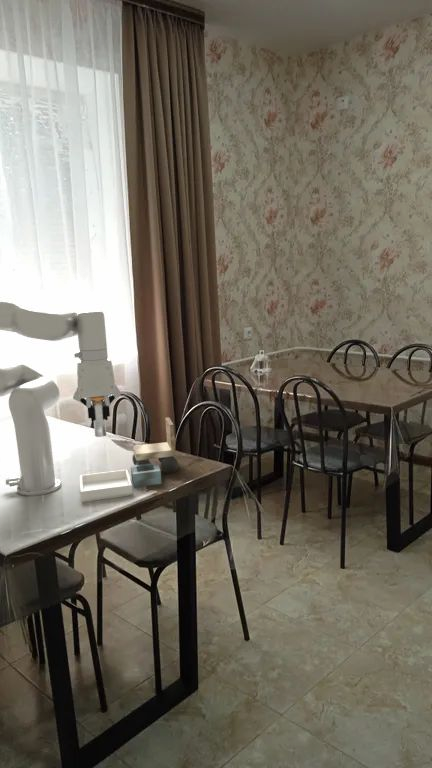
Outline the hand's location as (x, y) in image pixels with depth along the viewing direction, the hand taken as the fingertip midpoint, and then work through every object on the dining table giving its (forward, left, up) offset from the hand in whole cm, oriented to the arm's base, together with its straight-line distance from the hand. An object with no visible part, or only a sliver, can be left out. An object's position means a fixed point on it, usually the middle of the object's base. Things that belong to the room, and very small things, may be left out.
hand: (99, 419), depth 178 cm
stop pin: (0, 0, -5) cm, 5 cm away
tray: (0, 0, -21) cm, 21 cm away
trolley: (+15, +8, -21) cm, 27 cm away
